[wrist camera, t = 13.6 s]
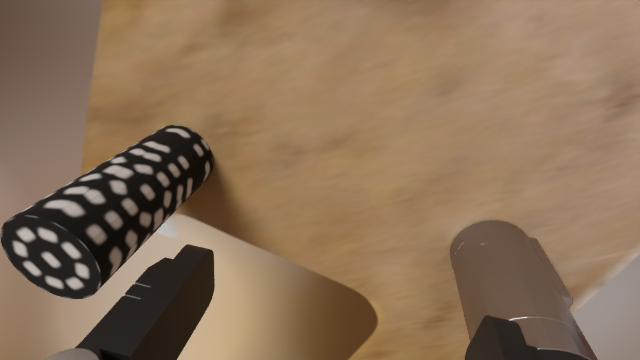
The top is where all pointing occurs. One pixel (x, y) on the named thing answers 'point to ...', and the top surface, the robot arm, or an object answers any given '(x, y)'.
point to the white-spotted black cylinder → (106, 213)
